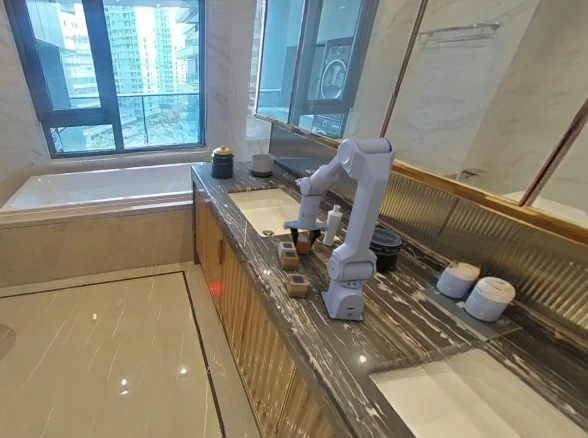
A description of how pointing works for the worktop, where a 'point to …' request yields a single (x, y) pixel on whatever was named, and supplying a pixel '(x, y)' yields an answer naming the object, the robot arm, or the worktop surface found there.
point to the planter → (262, 165)
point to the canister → (222, 163)
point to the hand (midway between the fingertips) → (301, 246)
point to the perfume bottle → (332, 225)
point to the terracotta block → (303, 245)
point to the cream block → (285, 247)
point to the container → (385, 248)
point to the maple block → (296, 285)
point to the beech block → (289, 260)
